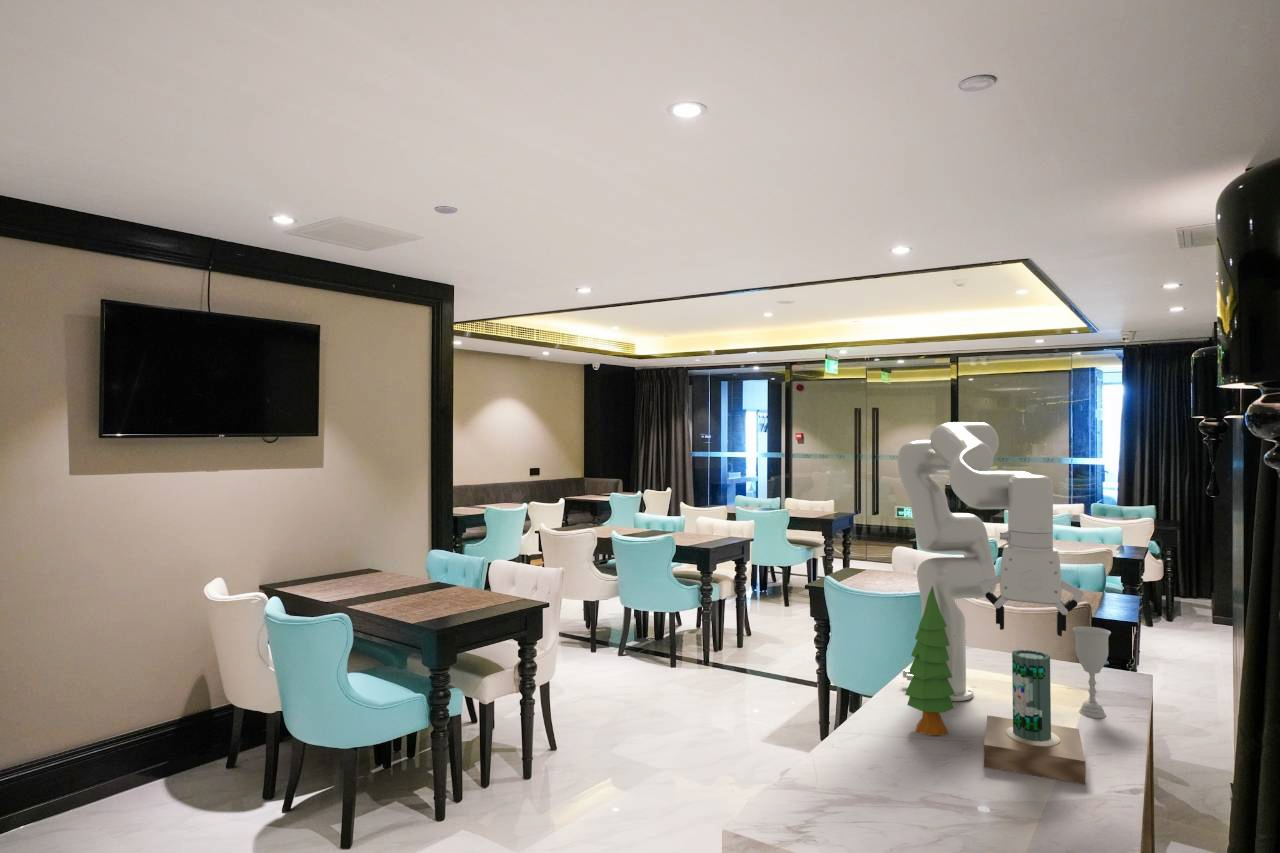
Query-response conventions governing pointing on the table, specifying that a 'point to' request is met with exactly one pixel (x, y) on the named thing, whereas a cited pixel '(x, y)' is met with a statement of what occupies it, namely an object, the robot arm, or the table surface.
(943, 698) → the decorative tree
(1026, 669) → the can
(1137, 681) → the table surface
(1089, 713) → the chalice
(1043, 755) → the walnut base
